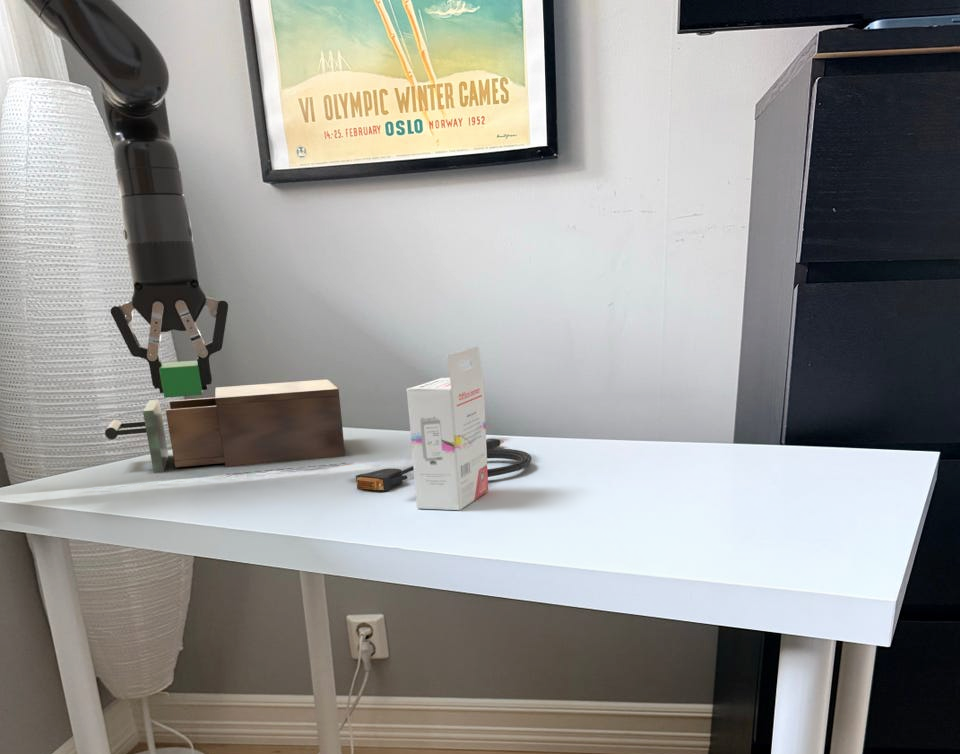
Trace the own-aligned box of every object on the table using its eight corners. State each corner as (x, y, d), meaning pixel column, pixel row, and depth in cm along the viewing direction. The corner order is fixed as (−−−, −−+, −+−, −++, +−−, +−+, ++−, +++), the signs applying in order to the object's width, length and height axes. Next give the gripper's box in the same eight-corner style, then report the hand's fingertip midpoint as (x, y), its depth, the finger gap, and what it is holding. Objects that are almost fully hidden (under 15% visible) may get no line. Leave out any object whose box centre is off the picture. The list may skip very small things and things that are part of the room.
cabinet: (226, 474, 113) (215, 398, 109) (225, 457, 124) (215, 387, 121) (346, 463, 116) (338, 388, 113) (334, 447, 127) (327, 379, 124)
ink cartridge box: (446, 490, 99) (437, 346, 94) (489, 491, 97) (483, 345, 92) (413, 509, 92) (402, 354, 86) (460, 511, 90) (451, 353, 84)
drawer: (110, 477, 110) (98, 414, 107) (119, 460, 120) (109, 403, 118) (268, 462, 114) (260, 401, 111) (263, 447, 124) (256, 392, 122)
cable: (583, 452, 116) (583, 440, 115) (453, 501, 94) (452, 486, 94) (492, 445, 123) (491, 434, 122) (352, 489, 101) (350, 476, 101)
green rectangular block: (164, 397, 110) (159, 368, 109) (167, 390, 117) (162, 362, 116) (202, 394, 111) (197, 365, 110) (203, 388, 118) (198, 360, 117)
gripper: (222, 238, 113) (242, 383, 119) (98, 243, 110) (125, 392, 116) (222, 235, 106) (243, 389, 112) (90, 241, 103) (120, 399, 109)
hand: (183, 390), depth 114 cm, fingers closed on green rectangular block, 4 cm apart
